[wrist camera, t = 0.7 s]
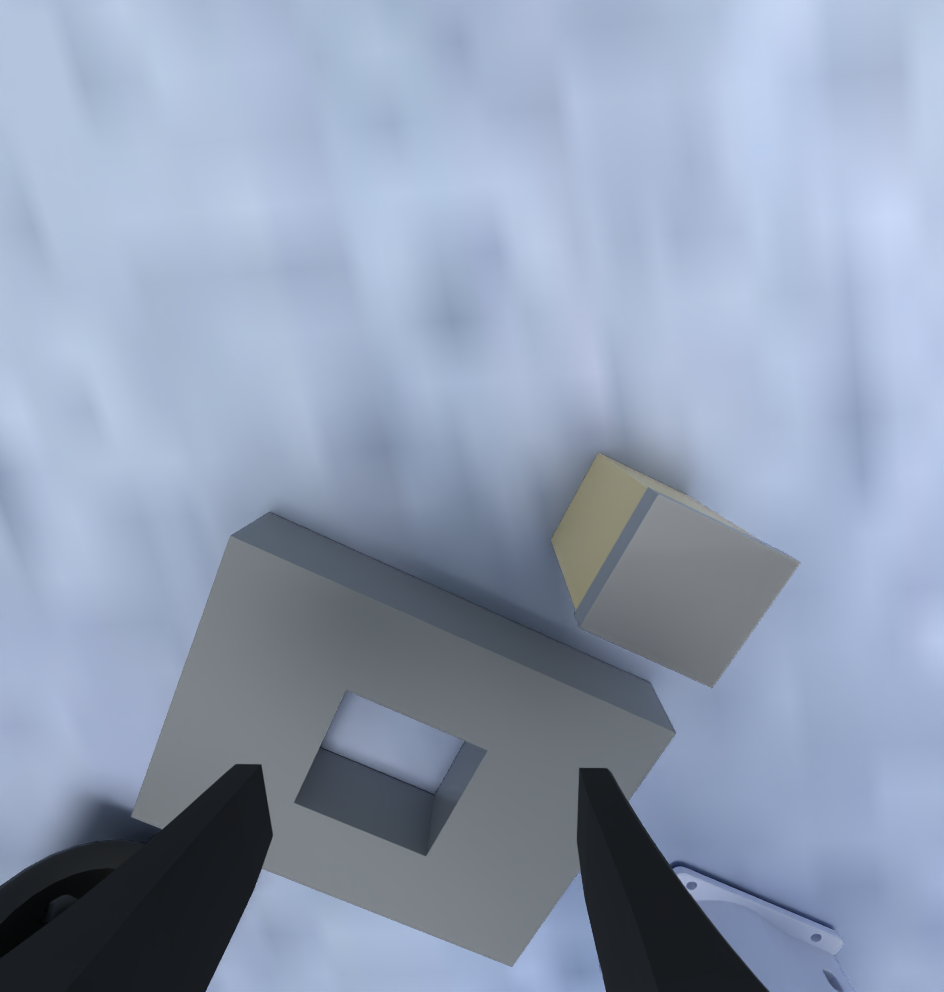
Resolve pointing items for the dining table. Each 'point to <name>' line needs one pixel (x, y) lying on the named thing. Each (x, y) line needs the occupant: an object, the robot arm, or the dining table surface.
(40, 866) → the muzzle brake
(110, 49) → the dining table surface
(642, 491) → the plug
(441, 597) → the socket plate
